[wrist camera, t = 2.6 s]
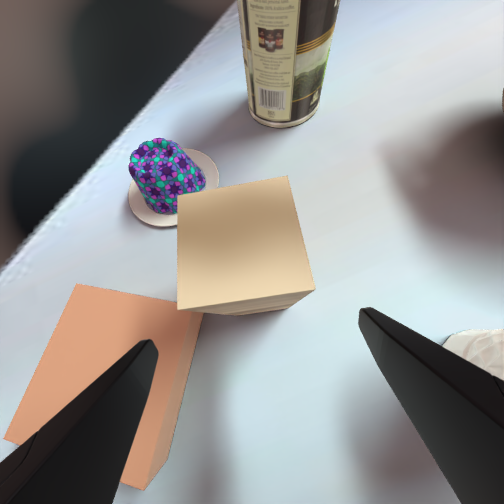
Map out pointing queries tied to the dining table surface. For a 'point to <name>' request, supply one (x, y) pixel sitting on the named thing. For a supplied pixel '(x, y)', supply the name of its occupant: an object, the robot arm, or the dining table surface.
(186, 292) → the maple block
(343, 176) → the dining table surface
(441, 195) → the dining table surface
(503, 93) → the cooking pot
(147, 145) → the pudding
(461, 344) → the white cup
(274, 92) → the coffee can
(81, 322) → the terracotta base
